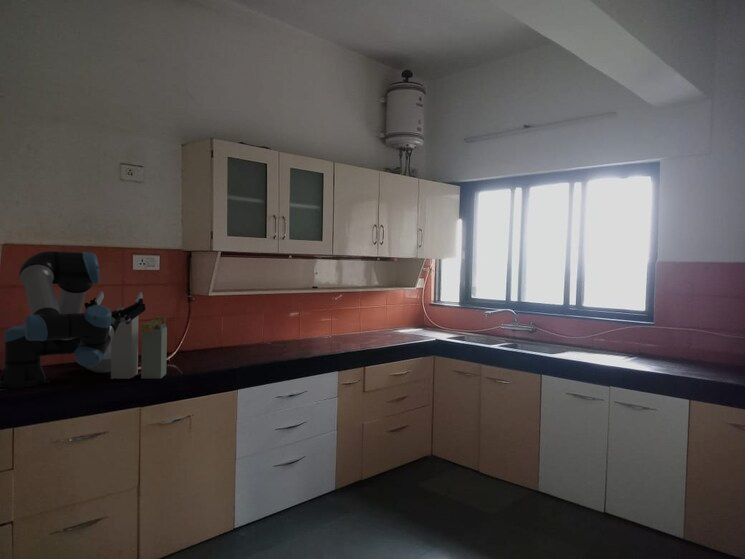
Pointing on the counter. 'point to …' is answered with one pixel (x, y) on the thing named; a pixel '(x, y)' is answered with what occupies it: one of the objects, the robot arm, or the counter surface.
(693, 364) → the counter surface
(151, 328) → the brass pin
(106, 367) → the cereal bowl
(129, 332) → the block
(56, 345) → the robot arm
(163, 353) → the upright grey pillar
